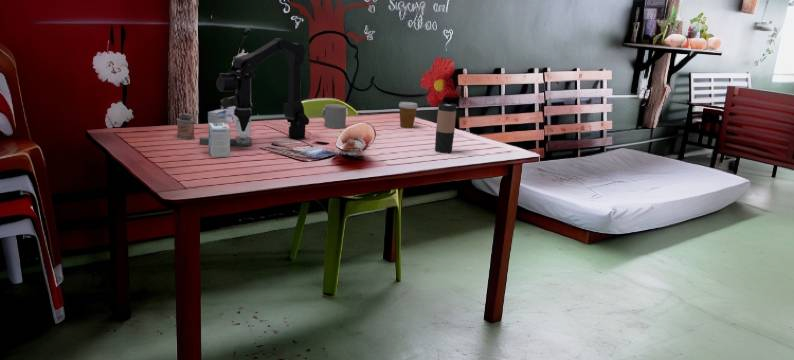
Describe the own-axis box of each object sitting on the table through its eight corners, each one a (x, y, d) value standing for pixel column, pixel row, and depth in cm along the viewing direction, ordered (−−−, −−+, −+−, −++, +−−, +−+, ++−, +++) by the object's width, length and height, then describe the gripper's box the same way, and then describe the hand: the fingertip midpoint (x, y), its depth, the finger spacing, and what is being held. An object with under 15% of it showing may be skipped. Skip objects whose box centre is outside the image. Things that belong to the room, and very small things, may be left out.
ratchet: (251, 143, 243) (251, 128, 242) (251, 147, 237) (251, 132, 236) (200, 142, 239) (200, 127, 238) (199, 145, 233) (198, 130, 232)
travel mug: (440, 153, 249) (444, 105, 244) (430, 149, 256) (435, 102, 250) (455, 153, 253) (460, 105, 247) (446, 148, 259) (450, 102, 254)
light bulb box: (208, 150, 227) (207, 122, 224) (226, 150, 230) (226, 122, 227) (211, 157, 218) (211, 128, 215) (230, 157, 221) (230, 128, 218)
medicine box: (217, 132, 257) (217, 112, 255) (208, 131, 258) (207, 111, 256) (226, 129, 265) (226, 110, 263) (217, 128, 266) (216, 109, 263)
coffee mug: (349, 128, 288) (350, 107, 285) (331, 129, 281) (332, 108, 279) (333, 122, 297) (334, 102, 295) (316, 124, 291) (317, 103, 288)
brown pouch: (175, 137, 244) (174, 112, 241) (180, 135, 247) (180, 111, 244) (191, 140, 241) (190, 115, 239) (196, 138, 244) (196, 114, 242)
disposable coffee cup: (404, 124, 306) (406, 101, 303) (419, 127, 301) (421, 103, 298) (393, 126, 299) (394, 102, 295) (408, 129, 294) (410, 105, 290)
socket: (250, 131, 242) (250, 119, 240) (250, 134, 236) (250, 121, 235) (236, 131, 240) (236, 118, 239) (235, 134, 235) (235, 121, 234)
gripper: (223, 86, 241) (224, 124, 245) (220, 93, 223) (220, 134, 228) (252, 87, 243) (252, 125, 247) (250, 94, 226) (250, 135, 230)
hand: (243, 129), depth 238 cm, fingers closed on socket, 6 cm apart
